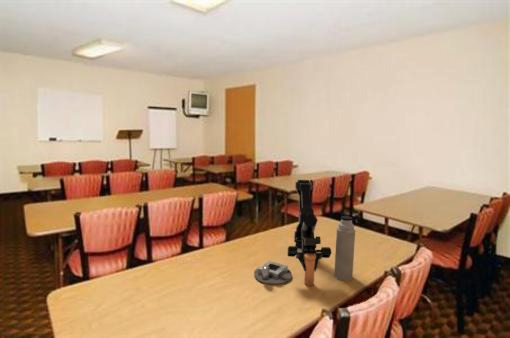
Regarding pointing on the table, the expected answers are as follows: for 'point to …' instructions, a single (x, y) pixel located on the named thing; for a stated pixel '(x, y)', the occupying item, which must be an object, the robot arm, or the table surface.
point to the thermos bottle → (344, 249)
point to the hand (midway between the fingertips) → (310, 271)
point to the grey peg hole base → (273, 273)
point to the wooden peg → (309, 269)
